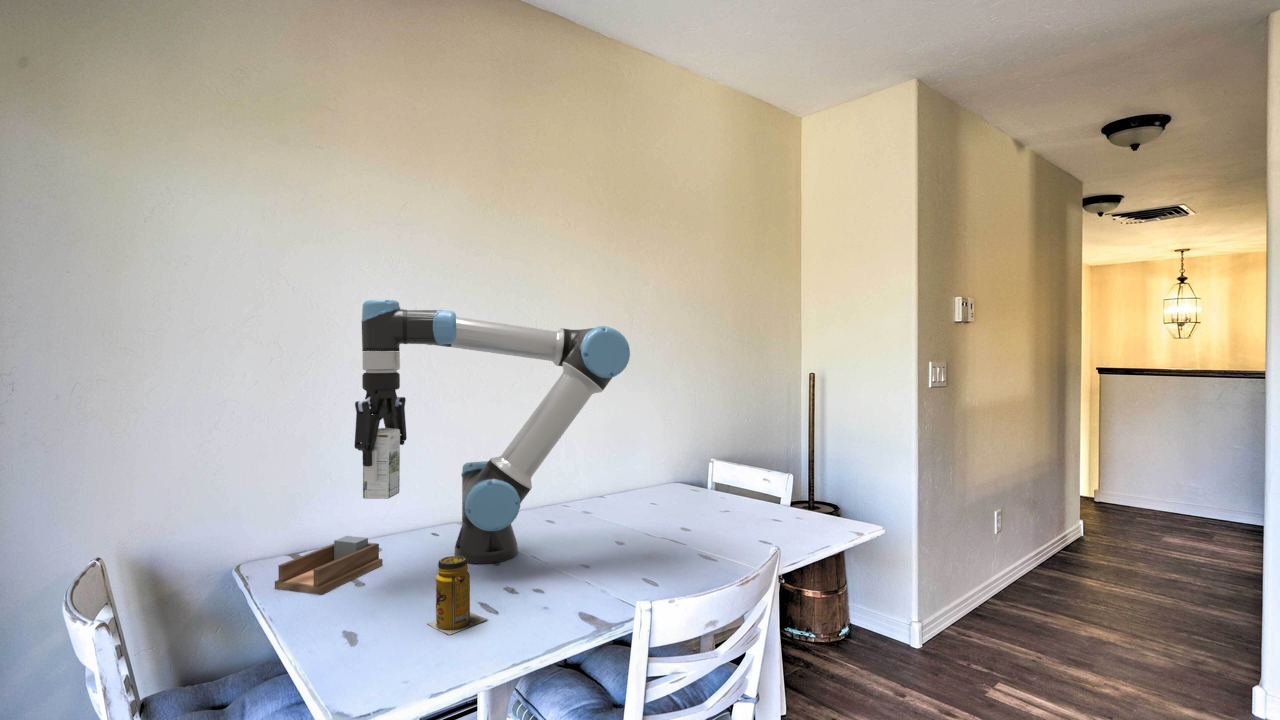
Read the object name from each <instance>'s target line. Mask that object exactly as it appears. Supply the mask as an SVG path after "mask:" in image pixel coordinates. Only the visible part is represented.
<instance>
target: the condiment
mask: <svg viewBox="0 0 1280 720" xmlns="http://www.w3.org/2000/svg"><path fill="white" fill-rule="evenodd" d="M437 562H438V563H437V566H438V568H437V569H438V570H437V572H438V573H437V575H436V576H435V577H436V578H435V592H436V593H435V594H436V595H435V599H436V600H435V602H436V603H435V614H436V615H435V620H433V621H431V622H427V623H426V625H429V626H430V627H432V628H434V629H435V630H437V631H441V632H442V633H445V634H448V635H449V636H450V635H452V634H455V633H458V632H460V631H464V630H466V629H468V628H470V627H472V626H475V625H478V624H481V623H482V622H484V621H487V620H488V618H486V617H483V616H481V615H477V614H476V613H474V612H471V575H470V572H469V571H468V570H469V566H468V564H469V563H468V561H467V558H465V557H462V556H455V555H451V556H446V557H443V558H441V559H439V560H438V561H437Z"/></svg>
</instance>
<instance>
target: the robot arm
mask: <svg viewBox="0 0 1280 720" xmlns="http://www.w3.org/2000/svg"><path fill="white" fill-rule="evenodd" d="M361 313H362V314H361V346H362V347H361V348H362V349H361V351H362V370H363V371H365V372H363V373H362V377H361V378H362V384H361V385H362V389H363V390H364V391H365V392H366V394H365V397H364V399H363V400H361V401H359V400H357V401H355V402H354V407H355V412H356V414H355V415H356V417H355V429H354V430H355V432H354V448H355V449H356V450H358V451H361V452H362V467H363V466H364V481H368V482H376V481H377V451H376V450H374V446H375V442H376V437H377V433H378V428H380V423H381V420H382V421H383V424H384V428H393V429H399V430H400V446H403V445H405V441H406V440H407V438H408V437H407V425H406V422H407V421H406V410H405V409H406V408H405V406H406V402H407V401H406V400H407V399H406V397H405V396H398V395H397V392H396V390H397V391H398V390H399V389H400V387H401V375H400V373H399V372H398V370H399V371H400V369H401V358H400V356H401V354H400V345H401V344H402V345H410V344H411V345H428V346H437V347H446V348H456V349H463V350H470V351H475V352H476V351H477V352H483V353H491V354H499V355H506V356H511V357H512V356H513V357H520V358H529V359H533V360H534V359H536V360H541V361H550V362H552V363H553V364H554V365H555V366H557V367H562V373H561V375H559V377H558V379H557V380H556V382H555V383H554V384H553V385H552V387H551V388H550V389H549V391H548V392H547V394H546V395H545V396H544V398H543V399H542V401H540V402H539V404H538V406H537V407H536V408H535V410H534V411H533V412H532V413H531V415H530V417H529V418H528V419H527V420H526V422H525V423H524V424H523V426H522V427H521V428H520V430H518V432H517V434H515V437H513V439H512V441H511V442H509V444H508V445H507V447H506V448H505V449H504V451H503V452H502V454H500V455H499V456H495V457H490V459H489V460H488V461H487V460H485V461H482V460H481V461H471V462H465V463H464V464H463V465H462V469H461V471H462V472H461V493H462V494H461V501H462V502H461V516H462V517H461V527H460V529H459V533H458V536H457V540H456V542H455V545H454V556H462V557H465V558H467V561H468V563H467V564H494V563H499V562H502V561H507V560H509V559H511V558H514V557H515V556H516V555H517V554H518V542H517V541H518V540H517V537H516V535H515V533H514V532H515V531H514V529H513V525H512V523H513V522H514V521H515V520H516V518H517V517H518V515H519V512H520V509H521V504H522V503H523V501H524V500H525V498H526V497H527V496H528V494H529V493H530V491H531V490H532V488H533V485H532V477H533V476H534V474H535V473H536V472H537V470H538V469H539V468H540V467H541V466H542V463H543V462H544V461H545V459H546V458H547V457H548V455H549V454H550V453H551V451H552V450H553V449H554V447H555V446H556V444H558V442H559V441H560V439H561V438H562V437H563V435H564V434H565V432H566V431H567V429H568V428H569V427H570V426H571V424H572V423H573V421H574V420H575V419H576V417H577V416H578V414H579V413H580V412H581V410H583V408H584V406H585V405H586V403H587V402H588V401H589V400H590V398H591V396H593V395H594V394H598V393H602V392H603V391H605V389H606V387H607V386H608V385H609V383H610V382H611V381H612V379H613V378H615V377H617V376H618V375H620V374H621V373H622V372H623V371H624V370H625V369H626V368H627V365H628V364H629V361H630V356H631V350H630V345H629V342H628V340H627V338H626V337H625V336H624V334H622V332H620V331H618V330H616V329H615V328H612V327H610V326H605V325H601V326H596V327H591V328H583V329H569V328H564V327H563V328H559V329H558V330H556V331H555V330H549V329H542V328H536V327H535V328H534V327H528V326H521V325H514V324H508V323H501V322H493V321H487V320H480V319H473V318H466V317H460V316H457V314H456V312H455V311H452V310H443V309H409V310H408V309H405V308H404V309H401V307H400V303H399V301H398V300H396V299H368V300H367V299H366V300H365V301H364V302H363V303H362V311H361ZM368 443H369V445H368Z"/></svg>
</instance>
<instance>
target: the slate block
mask: <svg viewBox="0 0 1280 720" xmlns="http://www.w3.org/2000/svg"><path fill="white" fill-rule="evenodd" d="M333 542H334V543H333V544H334V561H335V560H337V559H340V558H342V557H344V556H347V555H349V554H351V553H354V552H356V551H358V550H361V549H363V548H365V547H368V543H369V538H368V537H361V536H351V535H344V536H342V537H340V538H338V539H334V540H333Z"/></svg>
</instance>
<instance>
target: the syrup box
mask: <svg viewBox="0 0 1280 720" xmlns="http://www.w3.org/2000/svg"><path fill="white" fill-rule="evenodd" d="M400 435H401V434H400V430H399V429H393V428H385V427H379V428H378V433H377V437H376V442H375V446H374V450H376V451H377V481H376V482H368V481H364V466H363V465H362V499H367V500H369V499H371V500H372V499H374V500H377V499H378V500H380V499H381V500H384V499H386V500H387V499H390V498H392V497H394V496H396V495H398V494H399V493H400V479H401V478H400V471H401V468H400V464H401V463H400V461H401V459H400V457H401V455H400V454H401V452H400V451H401V445H400ZM368 445H369V443H368Z"/></svg>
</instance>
